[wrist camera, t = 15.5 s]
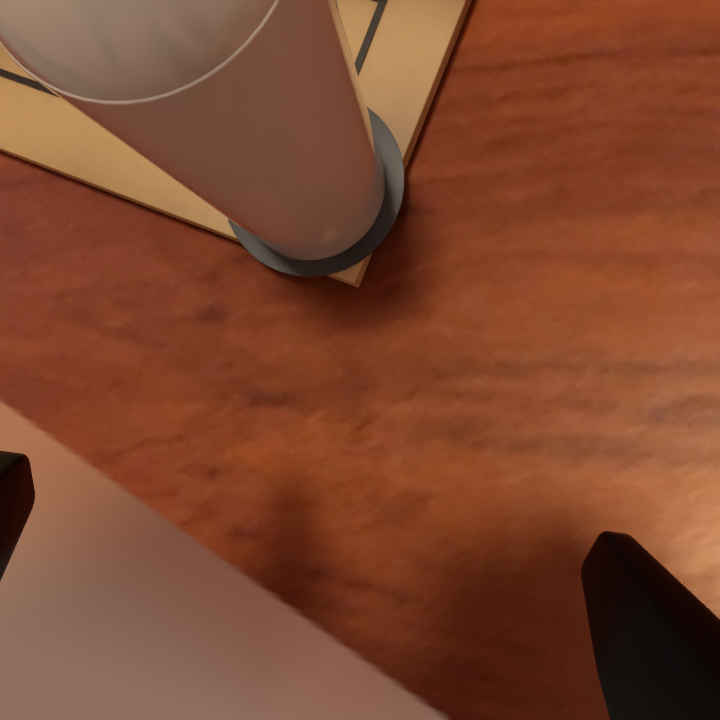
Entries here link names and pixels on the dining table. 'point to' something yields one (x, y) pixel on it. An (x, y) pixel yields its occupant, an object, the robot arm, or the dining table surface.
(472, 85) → the dining table surface
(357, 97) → the dome-capped cylinder
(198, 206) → the game board
